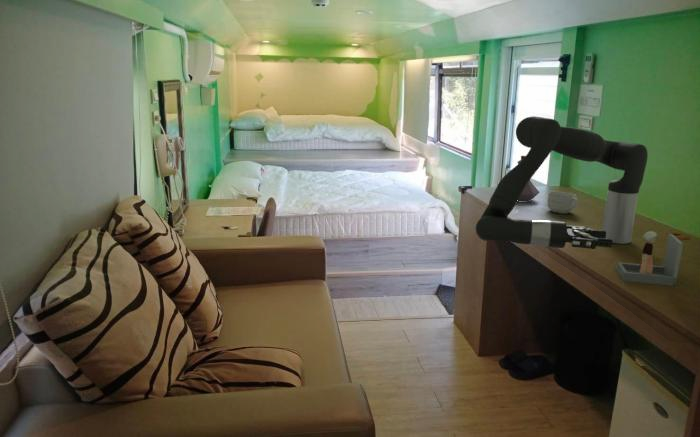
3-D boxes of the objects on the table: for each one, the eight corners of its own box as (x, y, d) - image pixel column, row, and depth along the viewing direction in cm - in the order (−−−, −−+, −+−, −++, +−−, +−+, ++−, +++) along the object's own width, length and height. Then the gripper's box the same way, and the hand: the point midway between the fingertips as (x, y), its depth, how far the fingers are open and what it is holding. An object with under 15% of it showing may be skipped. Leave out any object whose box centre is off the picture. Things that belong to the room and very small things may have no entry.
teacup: (541, 209, 223) (543, 190, 221) (564, 208, 225) (567, 190, 223) (559, 217, 210) (562, 198, 207) (584, 216, 211) (587, 197, 209)
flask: (501, 194, 249) (505, 152, 244) (538, 197, 244) (543, 154, 238) (499, 202, 234) (503, 157, 228) (538, 205, 229) (543, 159, 223)
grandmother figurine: (653, 280, 143) (661, 235, 140) (637, 278, 144) (645, 234, 141) (650, 271, 150) (658, 228, 146) (635, 269, 151) (642, 226, 148)
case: (615, 270, 153) (622, 230, 150) (665, 274, 150) (672, 234, 147) (623, 280, 145) (629, 239, 141) (675, 286, 141) (683, 243, 138)
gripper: (551, 227, 143) (616, 232, 139) (546, 215, 156) (605, 219, 153) (548, 253, 145) (612, 259, 141) (543, 239, 158) (601, 244, 155)
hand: (608, 238), depth 147 cm, fingers open, 8 cm apart
